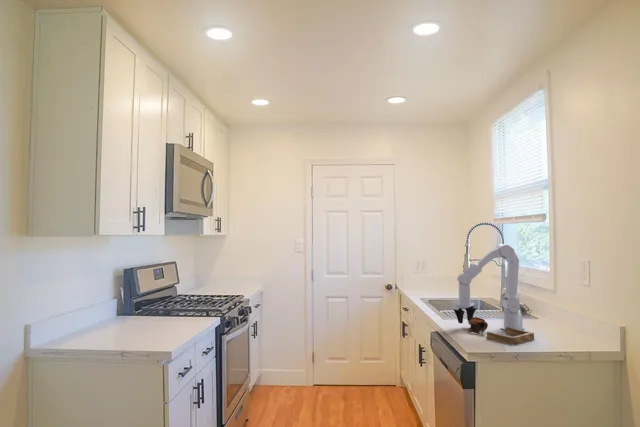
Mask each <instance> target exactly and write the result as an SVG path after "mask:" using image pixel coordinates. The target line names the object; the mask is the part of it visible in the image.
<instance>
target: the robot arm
mask: <svg viewBox="0 0 640 427" xmlns="http://www.w3.org/2000/svg"><path fill="white" fill-rule="evenodd" d="M499 258H503V259H504V260H505V261H506V262H507V271H506V287H505V288H506V289H505V293H504V297H503V300H501V304H502V307H503V308H504V309H503V326H502V327H500V329H502V330H505V331H506V327H509V328H514V329H518V330H523V331H524V330H525V327H524V323H523V320H524V318H523V315H522V313H521V312H520V308H521V305H520V302H519V296H518V286H519V285H518V282H519V269H520V259H519V257H518V255H517V253H516V250H515V249H514V248H513V247H512V246H511V245H509V244H503V243H499V244H497V245H496V246H495V247H493V248H492V249H490V251H488V253H487V254H486V255H484V256H483V257H482V258H481V259H480V260H479V261H478V262H477V263H476V262H473V263H470V264H469V267H467V268H466V269H465V270H463V271H462V272H461V273H460V274H458V276H457V282H458V303H457V304H456V305H454V306H453V308H454V309H453V312H454V314H455V316H456V319H457V322H458V324H463V323H464V316H465V315H464V313H465V312H466V319H467V322H468V321H469V320H470V318H471V317H474V314H475V312H476V310H477V307H476V303H475V302H471V283H472V280H474V278H476V277H477V276H478V275H479V274H481V273H482V272H483V271H482V270H483V268H484V267H485V266H487V264H489V263H490V262H492V260H494V259H499ZM464 309H465V310H464Z"/></svg>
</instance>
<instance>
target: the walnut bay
mask: <svg viewBox="0 0 640 427" xmlns="http://www.w3.org/2000/svg"><path fill="white" fill-rule="evenodd" d="M505 334H506V335H505ZM505 334H500V333H495V332H491V331H486V340H491V341H495V342H499V343H504V344H508V345H511V346H515V345H518V344H522V343H527V342H529V341H533V340H535V333H534V332H532V331H527V330H524V329H523V330H518V329H514V328H509V327H506V330H505ZM509 335H511V336H509Z"/></svg>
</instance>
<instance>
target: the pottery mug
mask: <svg viewBox="0 0 640 427" xmlns="http://www.w3.org/2000/svg"><path fill="white" fill-rule="evenodd" d="M467 323H468V325H470V327H468V328H467V331H468V333H474V334H478V333H479V334H480V333H484V332H485V331H486V330H487V329H488V326H489V324H488V323H487V321H486V320H485V319H483V318H481V317H476V316H473V317H471V318H470V320H469V321H468V320H467Z"/></svg>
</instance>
